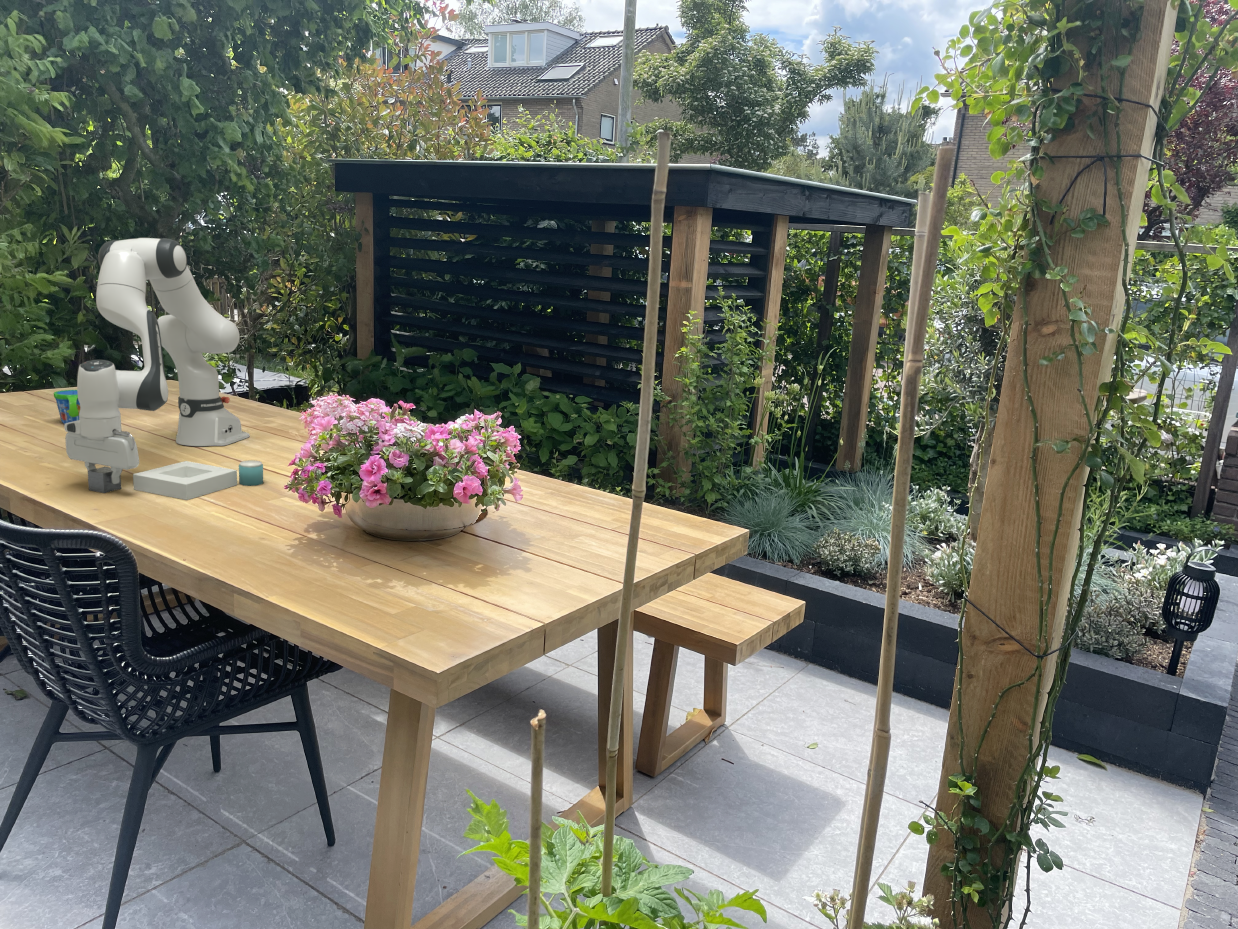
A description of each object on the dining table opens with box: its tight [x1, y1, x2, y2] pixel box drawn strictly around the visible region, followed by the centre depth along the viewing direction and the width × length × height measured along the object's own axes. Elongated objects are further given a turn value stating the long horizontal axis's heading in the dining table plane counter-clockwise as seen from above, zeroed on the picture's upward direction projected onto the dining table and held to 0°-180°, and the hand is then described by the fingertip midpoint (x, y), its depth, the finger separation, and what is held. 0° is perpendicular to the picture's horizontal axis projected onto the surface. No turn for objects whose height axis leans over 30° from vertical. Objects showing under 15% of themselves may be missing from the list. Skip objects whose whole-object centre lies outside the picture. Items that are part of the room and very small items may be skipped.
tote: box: [132, 460, 238, 501], centre depth 228 cm, size 17×17×4 cm
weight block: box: [87, 466, 122, 494], centre depth 222 cm, size 5×5×5 cm
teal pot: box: [238, 459, 264, 487], centre depth 236 cm, size 6×6×6 cm
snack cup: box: [53, 389, 80, 425], centre depth 287 cm, size 16×10×10 cm
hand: (104, 481), depth 222 cm, fingers closed on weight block, 5 cm apart
